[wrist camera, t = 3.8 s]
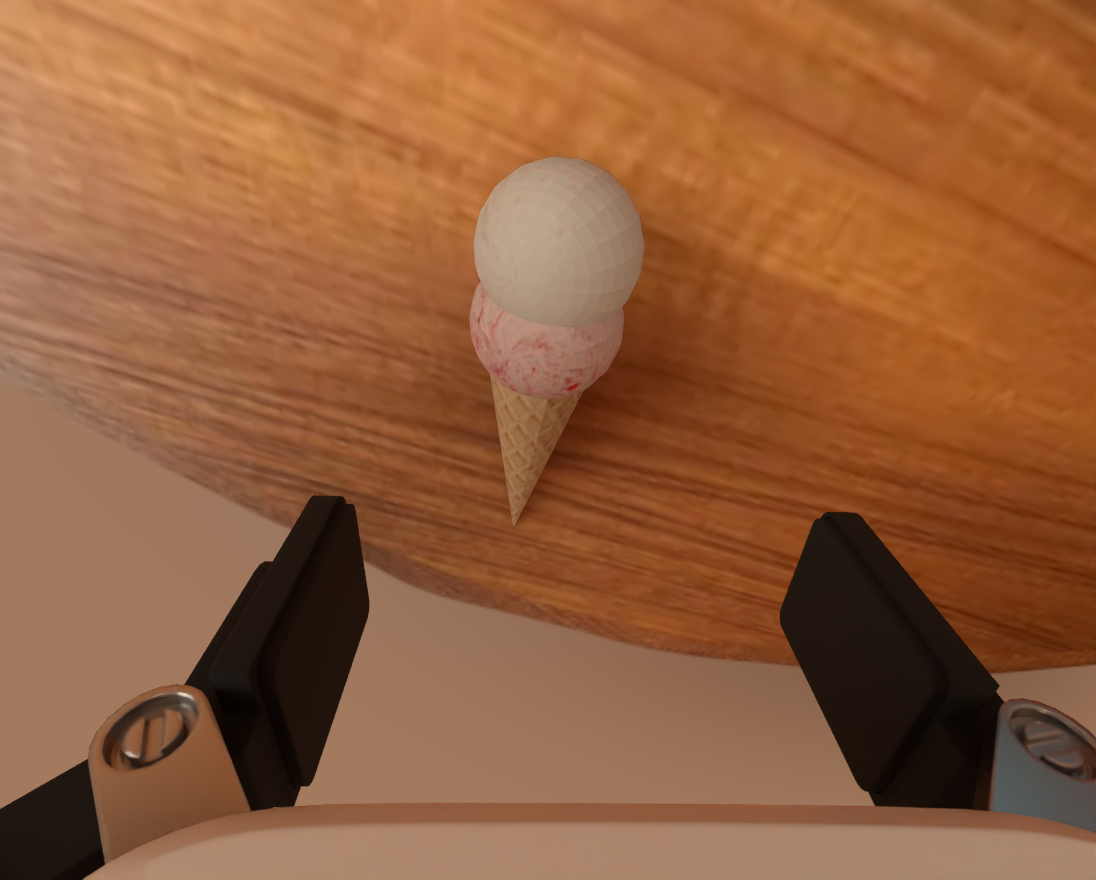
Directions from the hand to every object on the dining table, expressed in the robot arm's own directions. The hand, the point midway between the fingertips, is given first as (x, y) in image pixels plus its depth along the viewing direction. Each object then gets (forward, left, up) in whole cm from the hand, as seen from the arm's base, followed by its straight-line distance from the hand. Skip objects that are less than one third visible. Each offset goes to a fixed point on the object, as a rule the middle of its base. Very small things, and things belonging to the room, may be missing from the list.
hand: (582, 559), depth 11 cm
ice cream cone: (0, 0, -11) cm, 11 cm away
